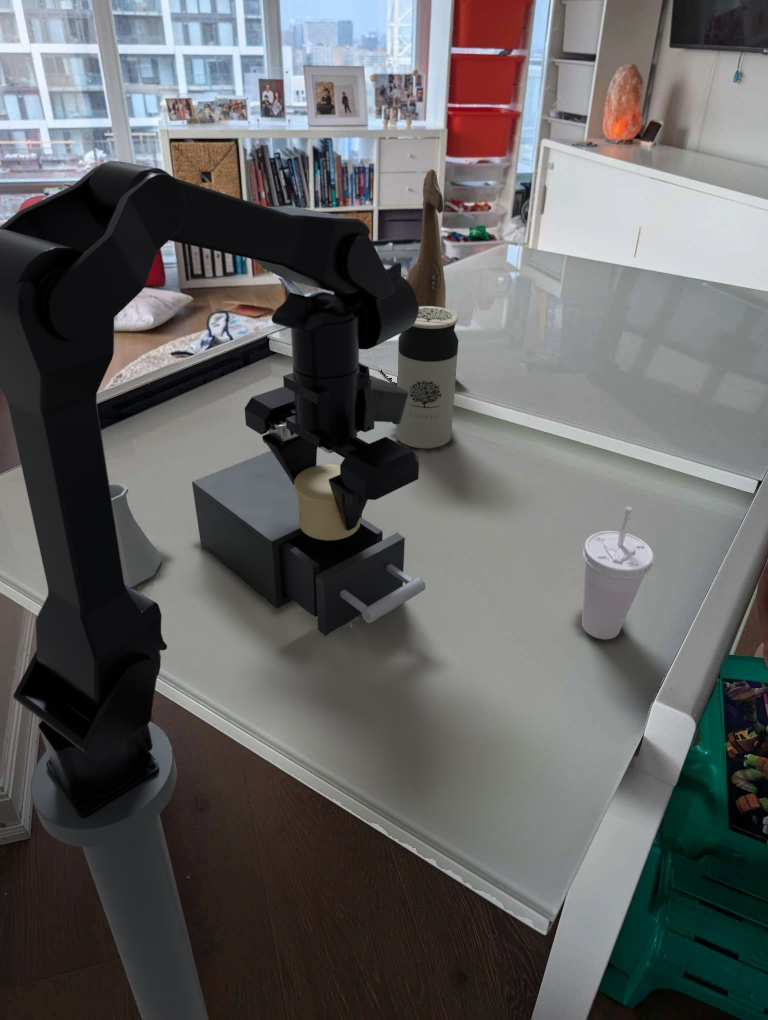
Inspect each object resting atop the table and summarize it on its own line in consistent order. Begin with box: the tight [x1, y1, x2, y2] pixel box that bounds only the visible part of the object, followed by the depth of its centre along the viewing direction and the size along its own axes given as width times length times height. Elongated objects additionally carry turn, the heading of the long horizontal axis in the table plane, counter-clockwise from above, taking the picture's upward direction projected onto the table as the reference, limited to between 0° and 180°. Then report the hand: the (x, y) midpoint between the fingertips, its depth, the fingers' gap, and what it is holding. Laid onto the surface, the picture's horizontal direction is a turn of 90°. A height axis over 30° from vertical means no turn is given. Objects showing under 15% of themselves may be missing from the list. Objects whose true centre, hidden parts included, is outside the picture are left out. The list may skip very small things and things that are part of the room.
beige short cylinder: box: [294, 463, 360, 540], centre depth 73 cm, size 7×7×5 cm
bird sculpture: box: [391, 168, 447, 386], centre depth 117 cm, size 11×12×32 cm
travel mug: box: [395, 306, 459, 450], centre depth 104 cm, size 8×8×18 cm
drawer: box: [279, 517, 426, 637], centre depth 77 cm, size 18×10×7 cm, turn 43°
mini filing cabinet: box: [191, 450, 363, 610], centre depth 83 cm, size 15×12×9 cm
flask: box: [109, 482, 163, 588], centre depth 80 cm, size 7×7×10 cm
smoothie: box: [581, 506, 655, 640], centre depth 72 cm, size 6×6×14 cm
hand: (329, 514), depth 74 cm, fingers closed on beige short cylinder, 6 cm apart
